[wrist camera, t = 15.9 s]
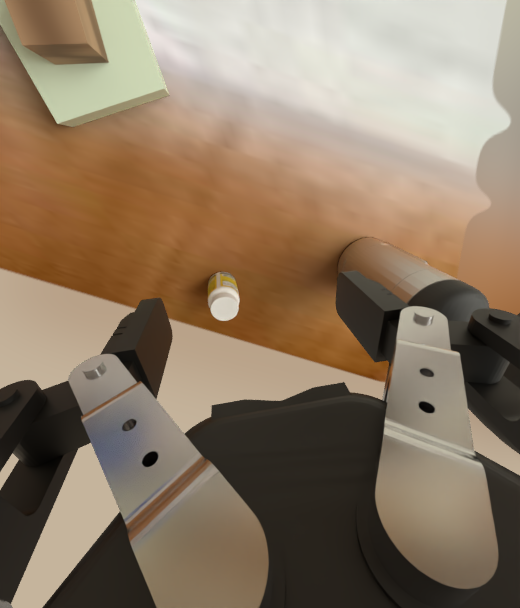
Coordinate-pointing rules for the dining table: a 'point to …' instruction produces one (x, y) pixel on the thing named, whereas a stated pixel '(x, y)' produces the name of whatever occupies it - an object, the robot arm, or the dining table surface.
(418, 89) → the dining table surface
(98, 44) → the walnut cube
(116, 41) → the sage block
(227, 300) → the supplement bottle
